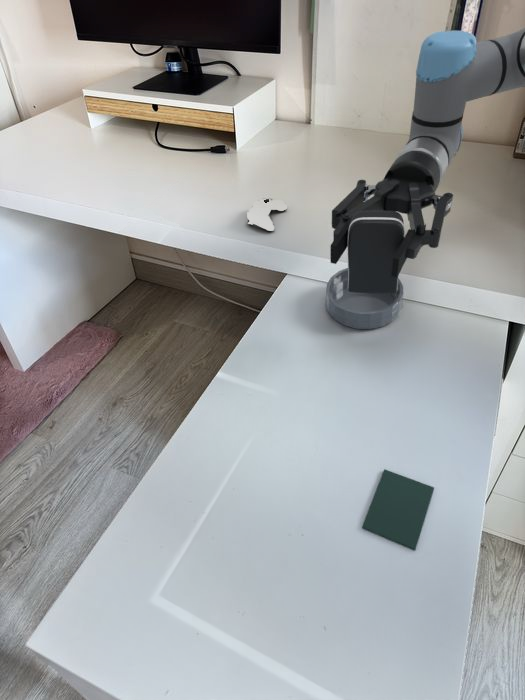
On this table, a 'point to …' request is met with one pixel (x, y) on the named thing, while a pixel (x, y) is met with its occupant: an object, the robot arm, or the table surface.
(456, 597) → the table surface
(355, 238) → the battery charger
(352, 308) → the bowl
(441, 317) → the table surface
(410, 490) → the mat
